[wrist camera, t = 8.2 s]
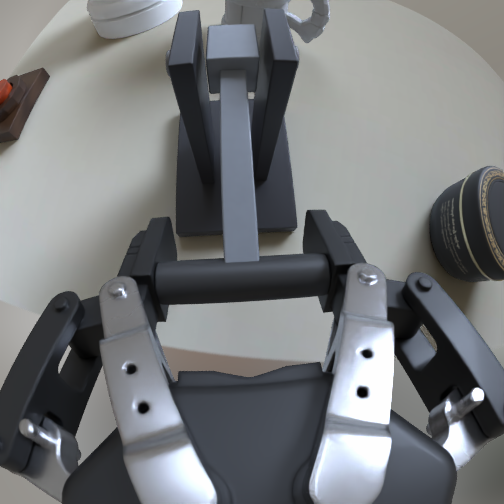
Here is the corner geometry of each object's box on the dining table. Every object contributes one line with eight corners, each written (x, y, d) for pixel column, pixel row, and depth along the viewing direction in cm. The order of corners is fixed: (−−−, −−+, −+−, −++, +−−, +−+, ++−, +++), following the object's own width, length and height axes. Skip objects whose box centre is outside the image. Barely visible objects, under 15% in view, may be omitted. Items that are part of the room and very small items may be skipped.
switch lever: (316, 295, 10) (338, 294, 8) (169, 303, 10) (150, 306, 8) (283, 57, 12) (290, 25, 10) (179, 61, 12) (173, 29, 9)
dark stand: (294, 231, 22) (372, 146, 8) (179, 237, 21) (99, 157, 8) (279, 107, 23) (309, -16, 10) (183, 111, 23) (152, -11, 9)
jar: (477, 195, 24) (521, 174, 16) (486, 282, 22) (536, 276, 15) (417, 183, 23) (465, 152, 16) (427, 286, 22) (485, 282, 14)
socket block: (18, 139, 22) (0, 125, 18) (-13, 145, 22) (-29, 133, 18) (50, 76, 23) (37, 59, 19) (16, 86, 23) (3, 73, 19)
